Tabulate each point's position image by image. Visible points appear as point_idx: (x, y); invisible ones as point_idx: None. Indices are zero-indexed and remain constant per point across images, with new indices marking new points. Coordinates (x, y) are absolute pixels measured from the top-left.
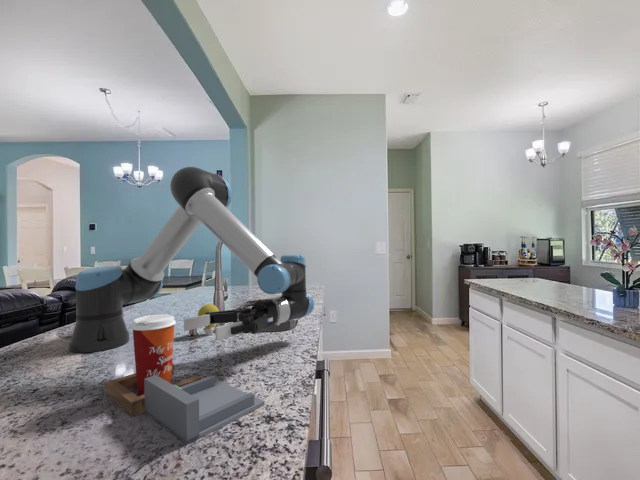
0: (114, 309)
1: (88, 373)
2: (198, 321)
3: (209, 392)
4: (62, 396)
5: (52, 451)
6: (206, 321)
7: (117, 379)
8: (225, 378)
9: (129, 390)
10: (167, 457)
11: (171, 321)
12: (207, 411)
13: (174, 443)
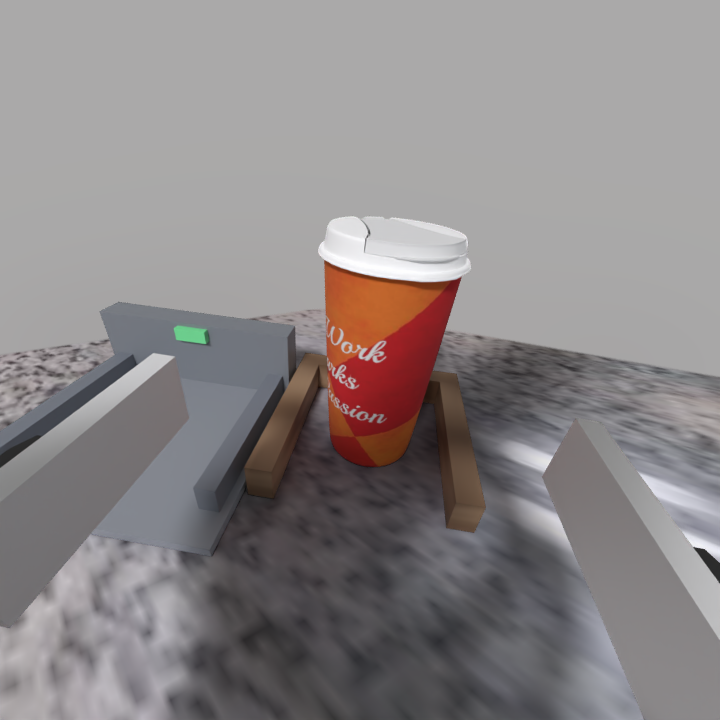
0: None
1: (634, 430)
2: (615, 545)
3: (189, 469)
4: (501, 371)
5: (321, 324)
6: (666, 673)
7: (452, 386)
8: (205, 613)
9: None
10: None
11: (331, 243)
12: None
13: None
